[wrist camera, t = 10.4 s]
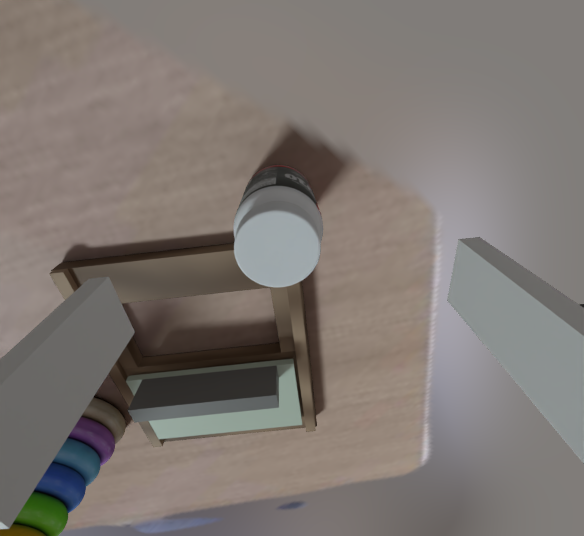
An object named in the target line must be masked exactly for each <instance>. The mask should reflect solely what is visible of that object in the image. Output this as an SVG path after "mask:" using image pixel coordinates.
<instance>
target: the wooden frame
mask: <svg viewBox="0 0 584 536" xmlns="http://www.w3.org/2000/svg"><path fill="white" fill-rule="evenodd" d="M51 271H52V272H51V273H50V276H51V278H52V279H53V281H54V283H55V284H56V286H57V288H58V289H59V291H60V293H61V294H62V296H63V298H64V299H65V300H66V299H67V298H68V297H69V296H71V295H72V294H73V293H74V292H75V291H76V290H77V289H78V288H79V287H80V286H82V285H83V284H84V283H85V282H86V281H87V280H88V279H92V278H101V277H109V278H110V280H111V283H112V285H113V287H114V289H115V291H116V293H117V295H118V297H119V299H120V302H121V304H123V303H132V302H141V301H150V300H159V299H168V298H178V297H187V296H196V295H205V294H214V293H223V292H233V291H242V290H251V289H260V288H269V287H268V286H264V285H261V284H259V283H256V282H254V281H253V280H251V279H250V278H249V277H247V276H246V275H245V274H244V273H243V272H242V270H241V269H240V267H239V266H238V264H237V261H236V259H235V254H234V243H232V244H223V245H214V246H205V247H196V248H187V249H178V250H170V251H161V252H152V253H143V254H134V255H125V256H116V257H107V258H98V259H89V260H80V261H71V262H62V263H60V264H59V265H58V266H56V267H55V268H54V269H52V270H51ZM270 289H271V295H272V301H273V307H274V313H275V319H276V325H277V331H278V337H279V343H274V344H265V345H255V346H246V347H236V348H227V349H217V350H208V351H198V352H189V353H180V354H170V355H161V356H151V357H142V355H141V353H140V351H139V349H138V347H137V345H136V343H135V341H134V338H133V336H132V338H131V339H130V341H129V342H128V344H127V346H126V347H125V349H124V350H123V352H122V353H121V355H120V356H119V358H118V360H117V361H116V363H115V364H114V366H113V367H112V369H111V371H110V372H109V374H110V376H111V378H112V379H113V381H114V383H115V384H116V386H117V388H118V389H119V391H120V393H121V394H122V396H123V398H124V399H125V401H126V403H127V404H128V406H130V404H131V402H132V400H133V398H134V395H133V393H132V391H131V390H130V388H129V386H128V384H127V383H126V380H127V378H128V376H131V375H141V374H150V373H160V372H169V371H179V370H189V369H198V368H208V367H217V366H227V365H236V364H246V363H255V362H265V361H275V360H284V359H293V361H294V368H295V375H296V382H297V389H298V396H299V402H300V409H301V416H302V425H296V426H286V427H276V428H266V429H256V430H246V431H236V432H226V433H216V434H207V435H197V436H187V437H177V438H167V439H158V437H157V435H156V433H155V432H154V430H153V428H152V426H151V425H150V423H149V421H144V422H138V423H139V424H140V426H141V428H142V429H143V431H144V433H145V434H146V436H147V438H148V439H149V441H150V442H151V444H152V446H153V447H161V446H163V443H164V442H166V441H176V440H186V439H196V438H206V437H216V436H226V435H236V434H245V433H255V432H265V431H275V430H285V429H295V428H305V427H306V432H310V431H316V430H315V426H317V422H316V412H315V402H314V392H313V383H312V373H311V363H310V354H309V344H308V334H307V325H306V315H305V305H304V296H303V286H302V281H300V282H298V283H296V284H294V285H290V286H286V287H270Z"/></svg>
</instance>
